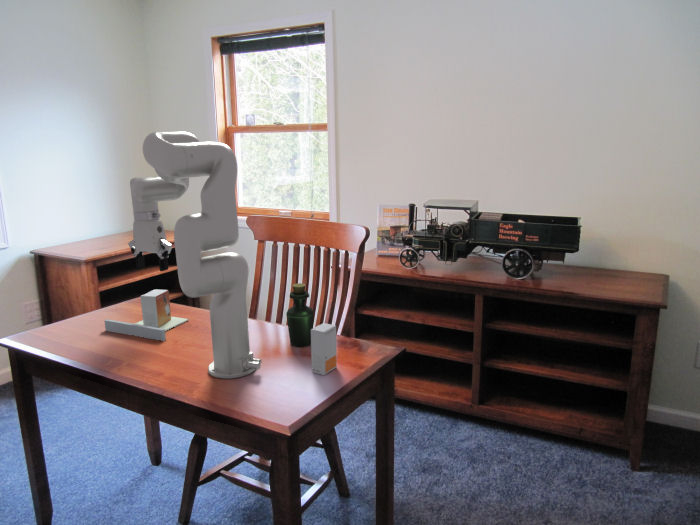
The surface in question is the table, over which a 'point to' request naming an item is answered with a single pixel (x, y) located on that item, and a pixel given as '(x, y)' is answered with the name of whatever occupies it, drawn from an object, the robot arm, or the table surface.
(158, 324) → the small box
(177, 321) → the mat
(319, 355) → the skincare box
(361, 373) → the table surface
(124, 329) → the low wall
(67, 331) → the table surface
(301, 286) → the potion bottle
